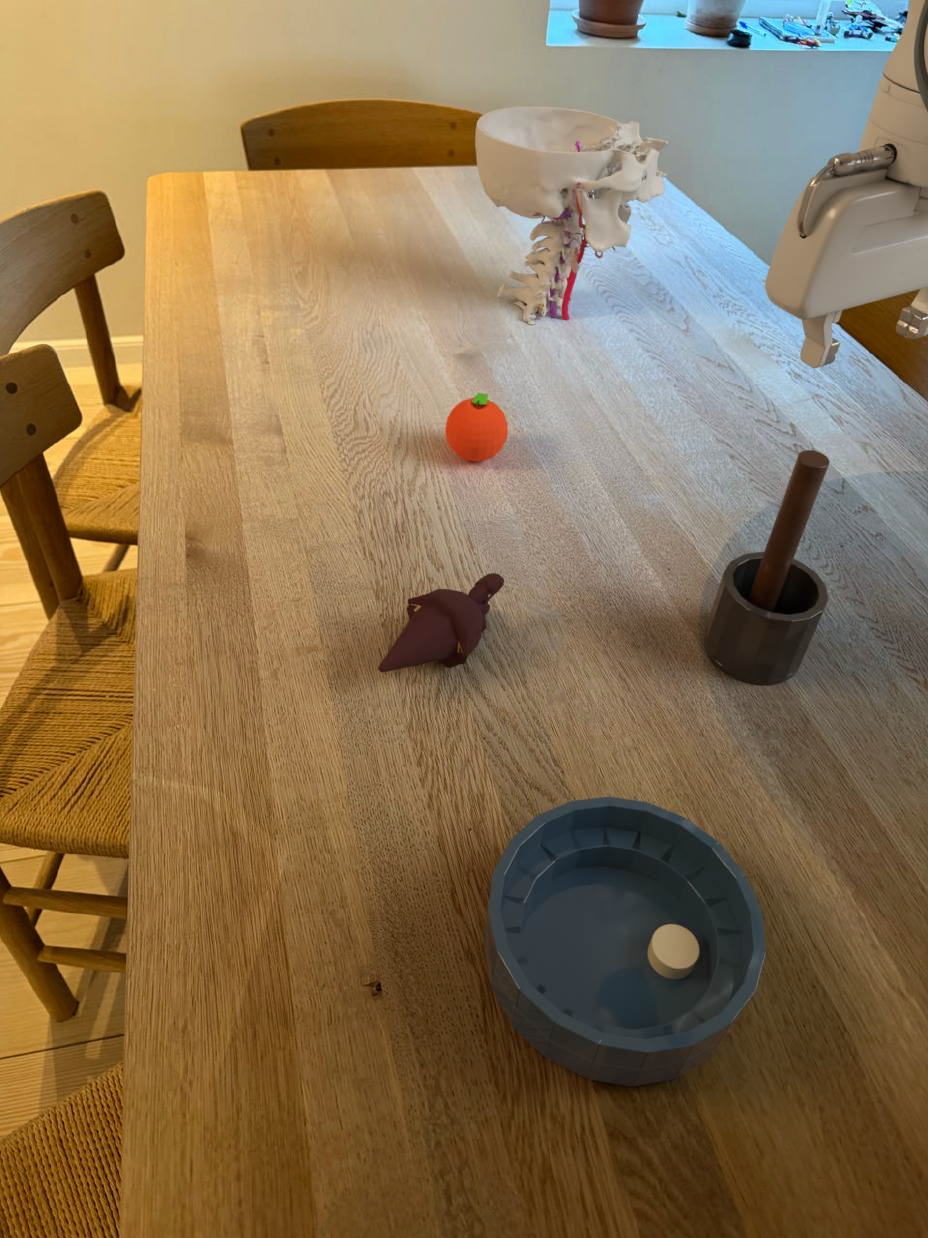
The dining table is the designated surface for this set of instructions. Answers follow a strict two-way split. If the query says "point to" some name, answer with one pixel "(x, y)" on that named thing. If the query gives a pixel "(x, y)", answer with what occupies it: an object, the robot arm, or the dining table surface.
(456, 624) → the icecream
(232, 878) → the dining table surface
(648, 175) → the skull
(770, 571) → the stick
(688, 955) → the dough
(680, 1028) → the bowl
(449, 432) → the clementine
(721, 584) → the holder
